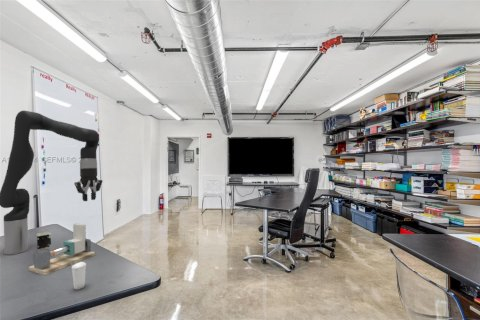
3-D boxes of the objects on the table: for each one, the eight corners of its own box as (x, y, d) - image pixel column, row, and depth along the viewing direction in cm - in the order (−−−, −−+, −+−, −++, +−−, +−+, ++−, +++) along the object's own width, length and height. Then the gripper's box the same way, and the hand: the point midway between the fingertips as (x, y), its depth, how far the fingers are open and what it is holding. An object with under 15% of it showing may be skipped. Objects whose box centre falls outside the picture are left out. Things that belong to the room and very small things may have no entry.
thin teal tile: (66, 252, 114) (65, 240, 114) (74, 254, 112) (73, 242, 112) (63, 253, 113) (63, 241, 113) (71, 255, 111) (71, 243, 111)
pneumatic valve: (37, 259, 114) (37, 235, 114) (36, 252, 123) (36, 230, 123) (52, 256, 118) (51, 232, 118) (50, 250, 127) (49, 227, 127)
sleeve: (76, 248, 120) (76, 223, 120) (86, 250, 117) (85, 224, 117) (66, 252, 115) (65, 226, 115) (75, 254, 112) (75, 227, 112)
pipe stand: (79, 251, 123) (79, 235, 123) (95, 255, 119) (95, 238, 119) (28, 270, 103) (28, 251, 103) (45, 275, 98) (44, 254, 98)
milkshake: (74, 284, 91) (74, 258, 90) (89, 283, 91) (88, 257, 91) (66, 291, 86) (66, 263, 86) (82, 290, 86) (81, 263, 86)
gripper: (96, 166, 130) (97, 197, 130) (69, 167, 117) (70, 202, 117) (106, 166, 127) (106, 198, 127) (79, 167, 114) (80, 203, 114)
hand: (89, 200), depth 122 cm, fingers open, 3 cm apart
